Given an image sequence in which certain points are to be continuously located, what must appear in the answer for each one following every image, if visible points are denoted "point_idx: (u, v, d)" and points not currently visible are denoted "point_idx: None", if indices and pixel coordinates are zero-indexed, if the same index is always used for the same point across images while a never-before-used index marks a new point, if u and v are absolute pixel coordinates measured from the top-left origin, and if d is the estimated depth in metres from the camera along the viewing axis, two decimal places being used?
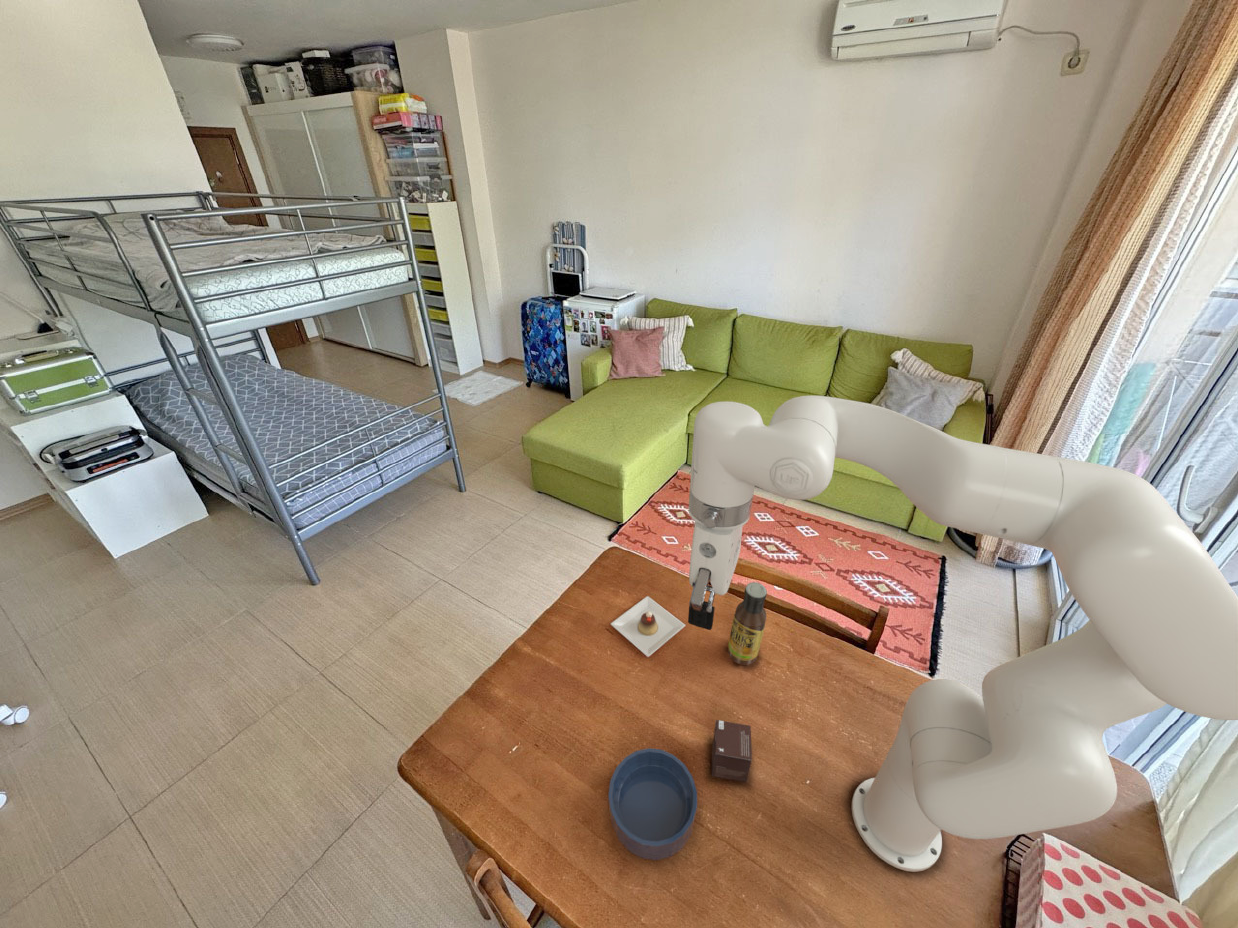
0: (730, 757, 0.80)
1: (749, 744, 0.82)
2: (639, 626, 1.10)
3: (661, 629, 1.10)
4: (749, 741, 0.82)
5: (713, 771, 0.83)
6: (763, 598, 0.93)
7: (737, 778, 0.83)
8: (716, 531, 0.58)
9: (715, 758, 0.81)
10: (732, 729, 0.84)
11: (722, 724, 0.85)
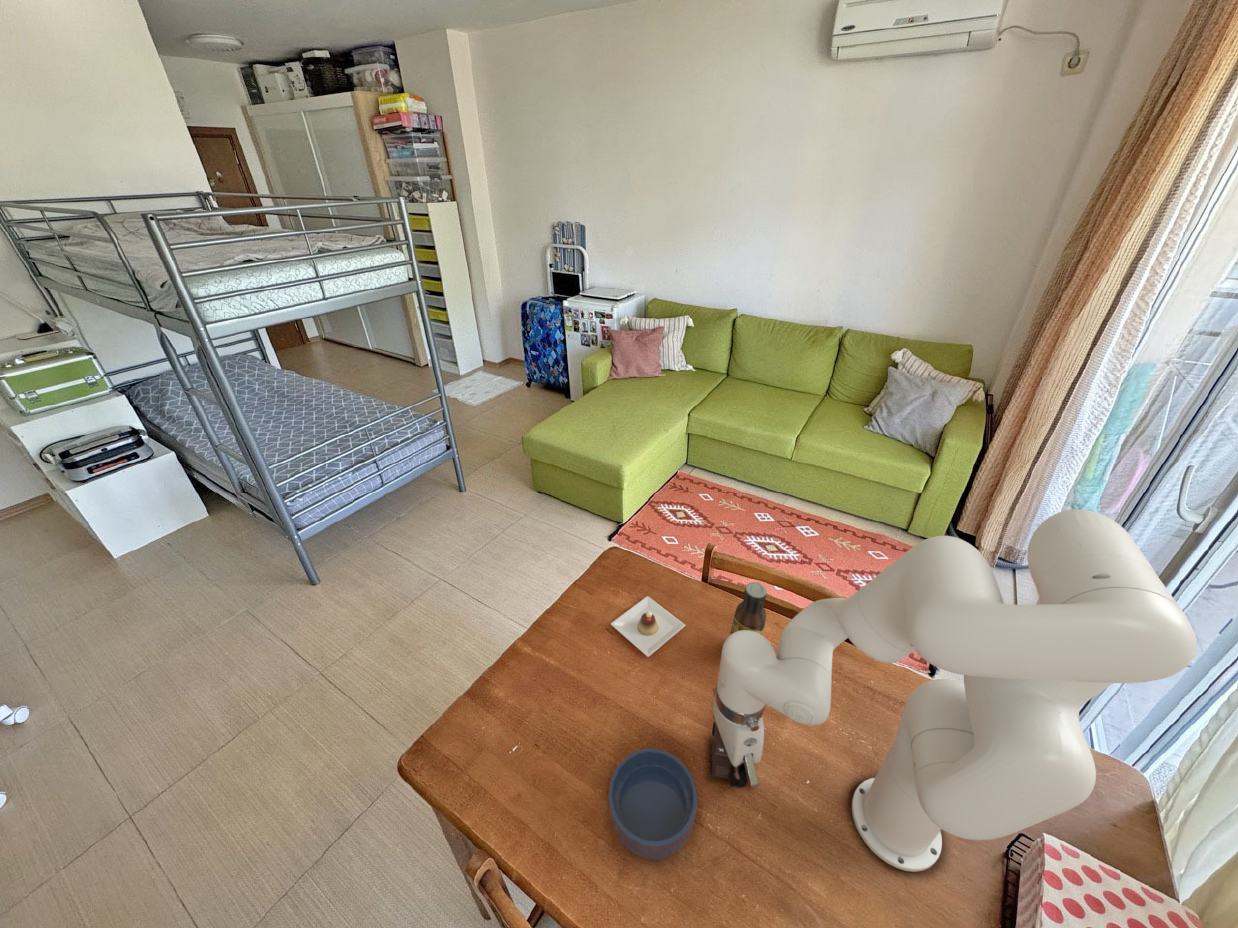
0: None
1: None
2: (639, 626, 1.10)
3: (661, 629, 1.10)
4: None
5: (713, 771, 0.83)
6: (763, 598, 0.93)
7: None
8: None
9: (715, 758, 0.81)
10: None
11: None
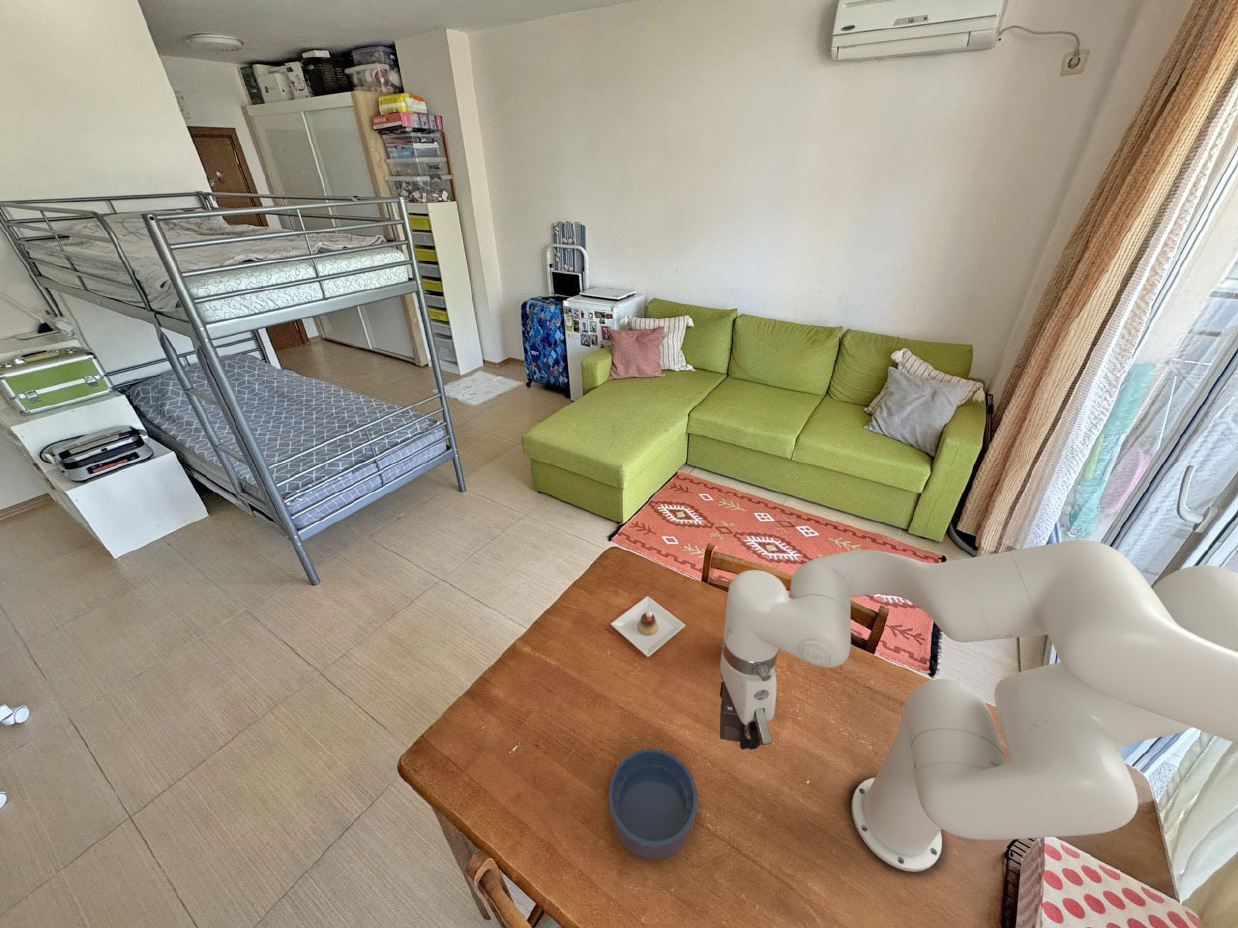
0: None
1: None
2: (639, 626, 1.10)
3: (661, 629, 1.10)
4: None
5: (721, 733, 0.77)
6: None
7: None
8: None
9: (723, 718, 0.74)
10: None
11: None
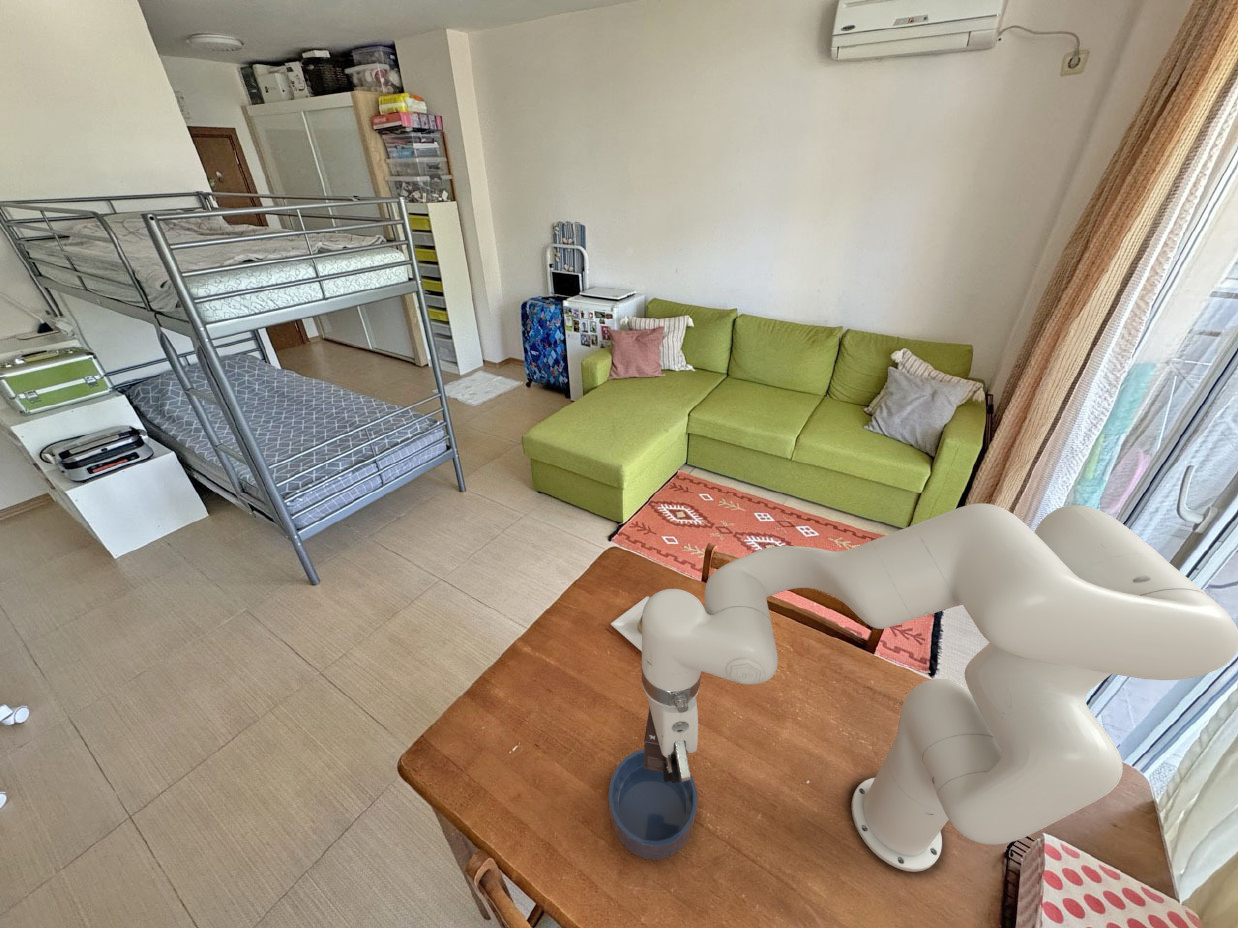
0: None
1: None
2: (639, 626, 1.10)
3: None
4: None
5: (645, 763, 0.70)
6: None
7: None
8: None
9: (646, 748, 0.68)
10: None
11: None
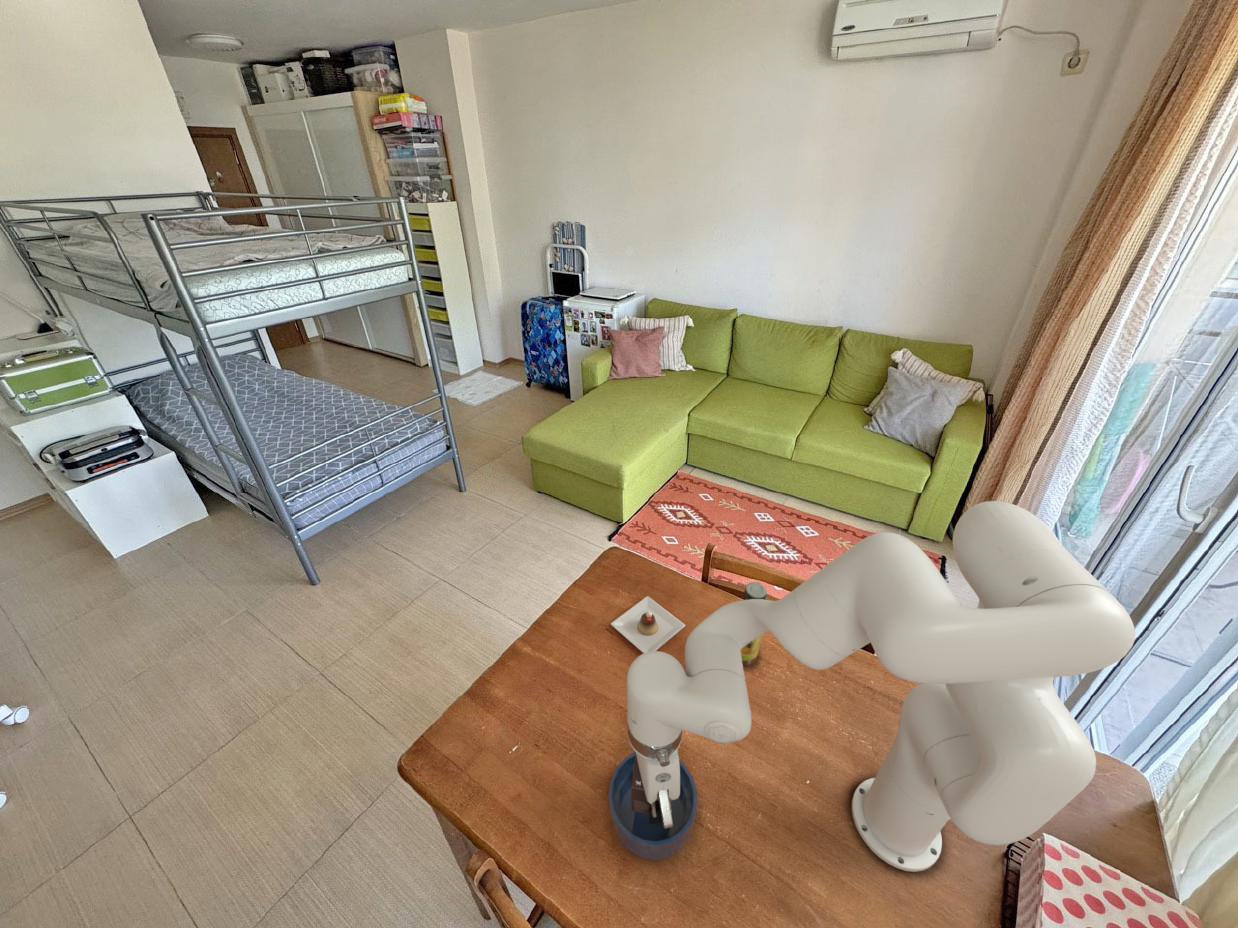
0: None
1: None
2: (639, 626, 1.10)
3: (661, 629, 1.10)
4: None
5: (632, 806, 0.75)
6: (763, 598, 0.93)
7: None
8: None
9: (632, 792, 0.72)
10: None
11: None
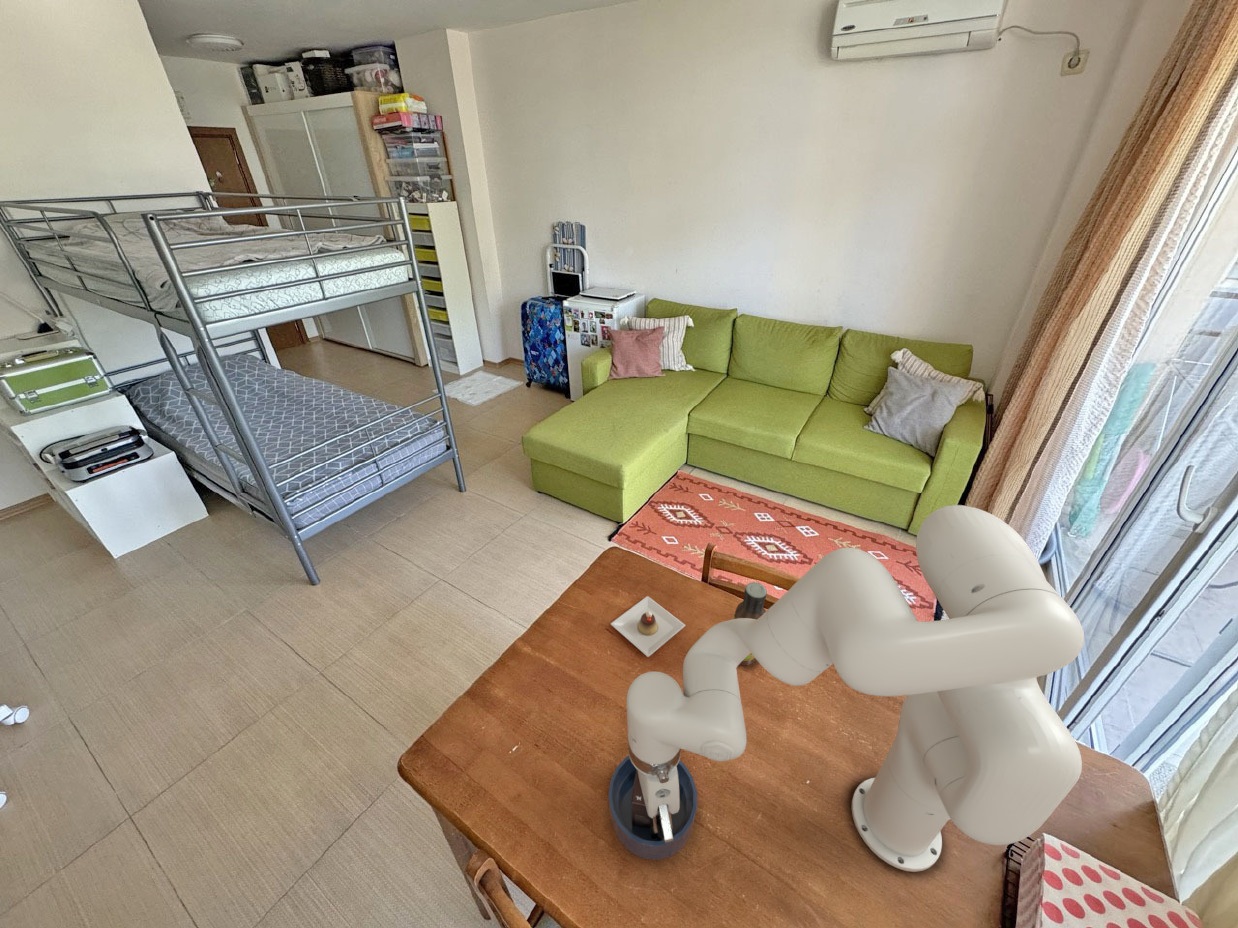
0: None
1: None
2: (639, 626, 1.10)
3: (661, 629, 1.10)
4: None
5: (632, 820, 0.77)
6: (763, 598, 0.93)
7: None
8: None
9: (633, 807, 0.75)
10: None
11: None
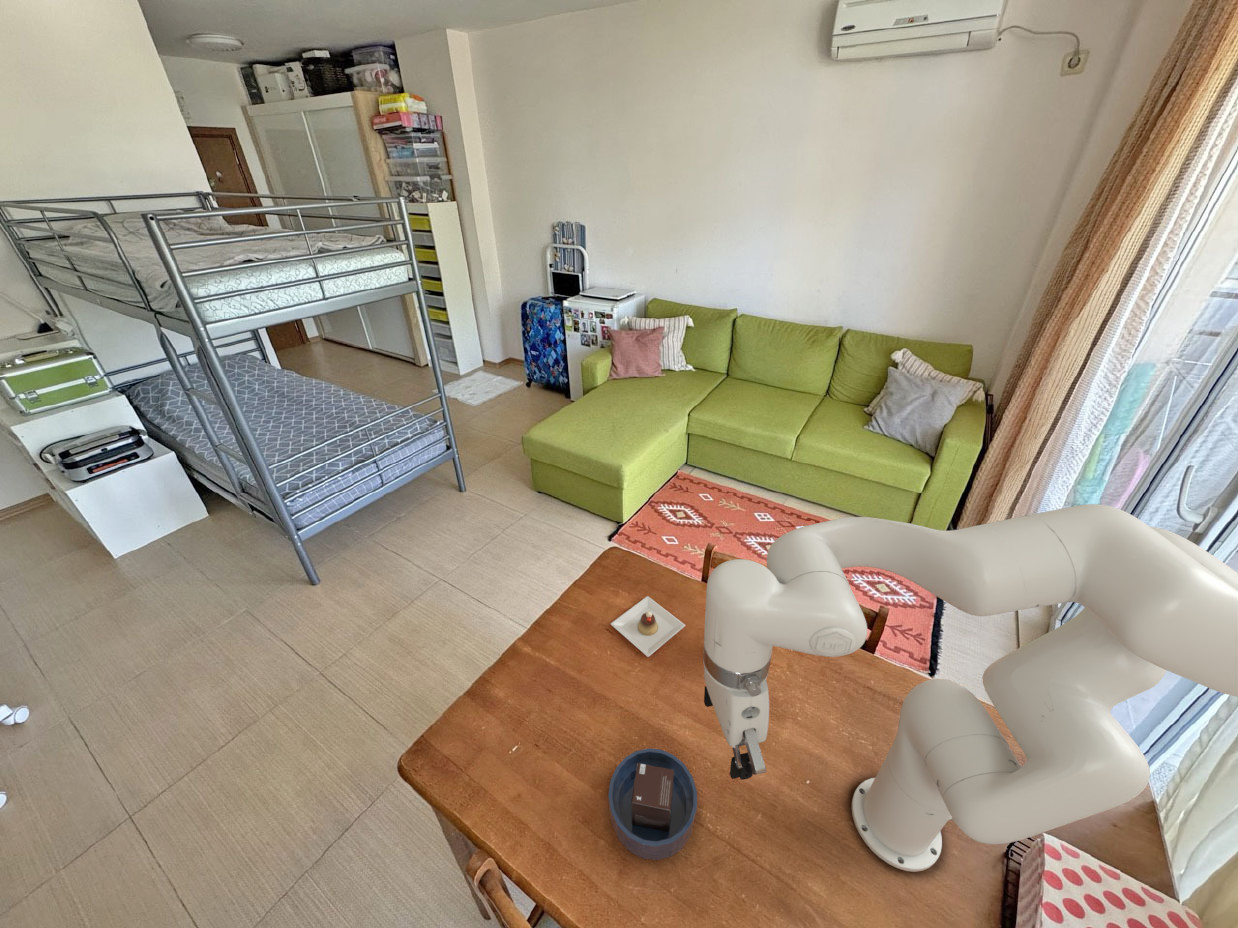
0: (648, 806, 0.74)
1: (670, 791, 0.75)
2: (639, 626, 1.10)
3: (661, 629, 1.10)
4: (670, 788, 0.76)
5: (632, 820, 0.77)
6: None
7: (658, 827, 0.77)
8: None
9: (633, 807, 0.75)
10: (653, 774, 0.77)
11: (643, 768, 0.78)
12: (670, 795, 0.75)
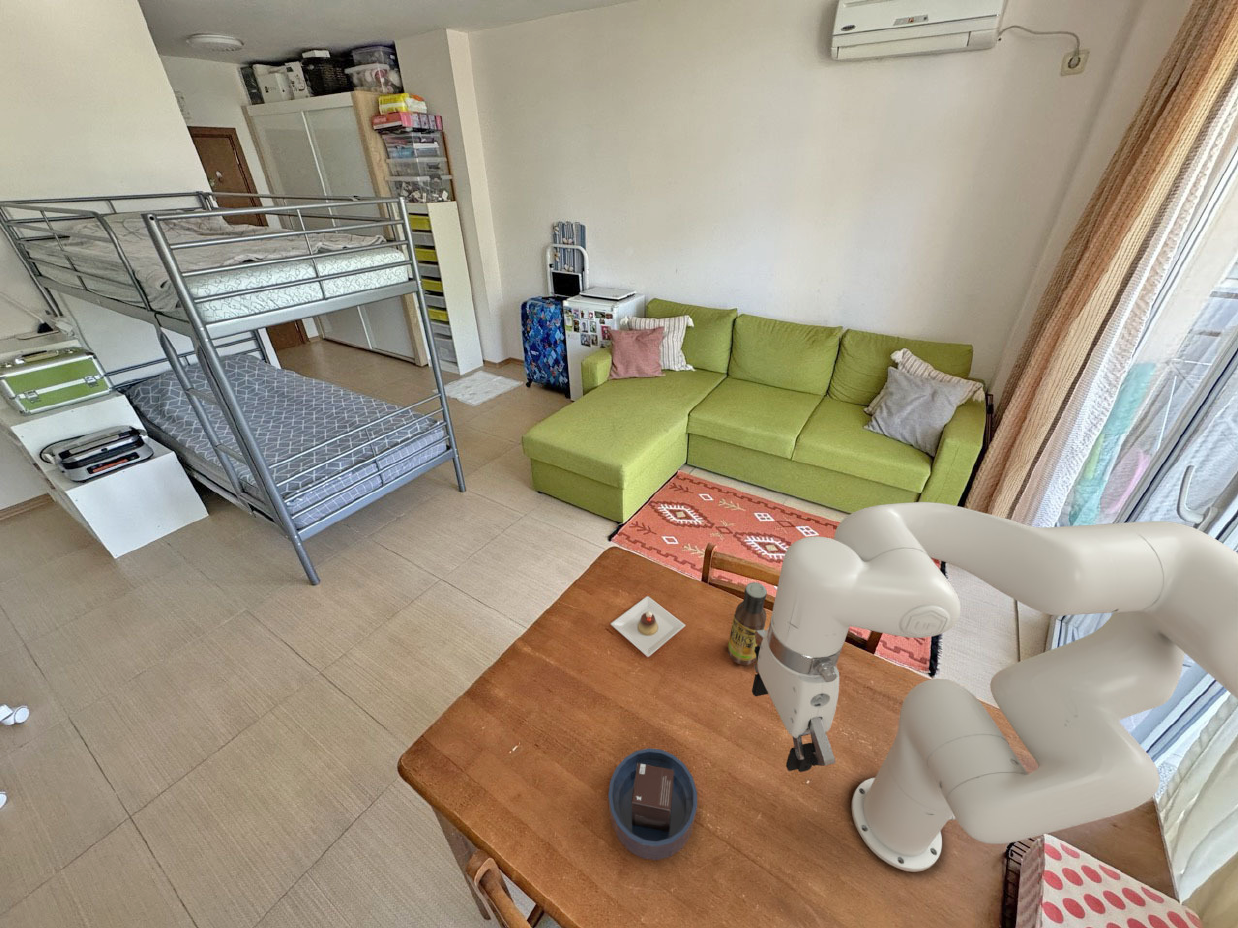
0: (648, 806, 0.74)
1: (670, 791, 0.75)
2: (639, 626, 1.10)
3: (661, 629, 1.10)
4: (670, 788, 0.76)
5: (632, 820, 0.77)
6: (763, 598, 0.93)
7: (658, 827, 0.77)
8: None
9: (633, 807, 0.75)
10: (653, 774, 0.77)
11: (643, 768, 0.78)
12: (670, 795, 0.75)
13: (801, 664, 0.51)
